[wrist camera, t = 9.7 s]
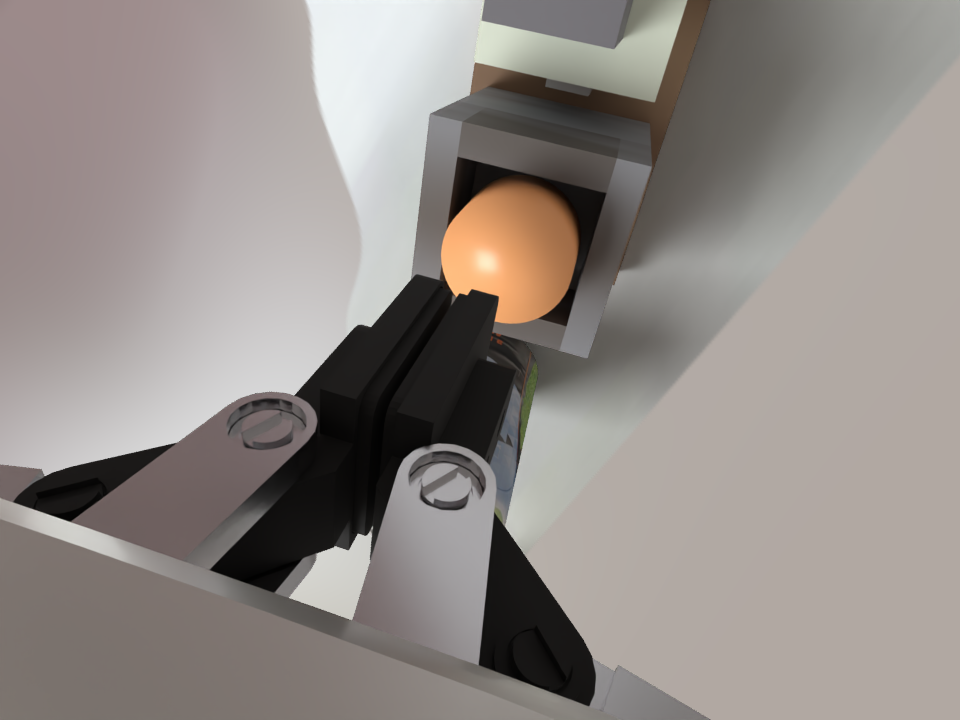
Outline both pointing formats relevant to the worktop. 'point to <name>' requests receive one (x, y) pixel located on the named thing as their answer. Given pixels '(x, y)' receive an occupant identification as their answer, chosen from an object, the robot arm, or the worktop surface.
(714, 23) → the worktop surface
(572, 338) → the rail bench
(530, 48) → the carriage
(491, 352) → the beverage can
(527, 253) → the plunger
